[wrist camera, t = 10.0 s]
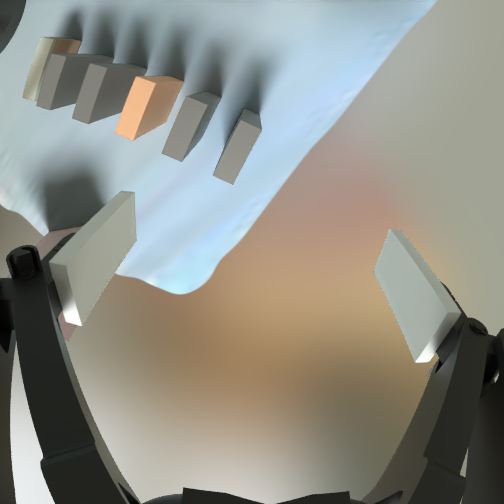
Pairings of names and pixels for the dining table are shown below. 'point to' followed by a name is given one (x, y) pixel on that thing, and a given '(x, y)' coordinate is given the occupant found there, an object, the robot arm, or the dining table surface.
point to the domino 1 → (66, 78)
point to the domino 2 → (105, 90)
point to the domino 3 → (190, 124)
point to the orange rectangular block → (147, 105)
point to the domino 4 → (238, 146)
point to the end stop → (46, 62)
